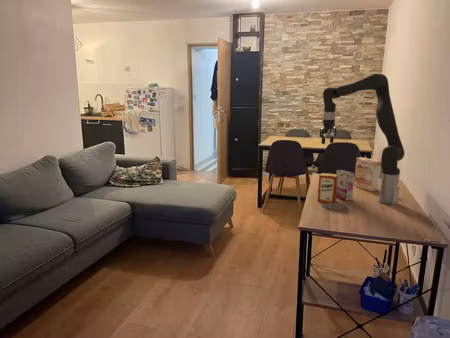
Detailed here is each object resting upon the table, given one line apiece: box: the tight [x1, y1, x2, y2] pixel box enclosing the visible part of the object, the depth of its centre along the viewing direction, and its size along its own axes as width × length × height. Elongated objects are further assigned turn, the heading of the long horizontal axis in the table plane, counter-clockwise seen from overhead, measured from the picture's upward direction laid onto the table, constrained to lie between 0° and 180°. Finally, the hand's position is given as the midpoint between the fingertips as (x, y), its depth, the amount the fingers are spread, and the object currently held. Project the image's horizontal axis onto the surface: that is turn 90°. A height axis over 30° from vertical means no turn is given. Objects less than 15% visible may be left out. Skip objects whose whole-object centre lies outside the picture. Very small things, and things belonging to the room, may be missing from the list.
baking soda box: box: [317, 172, 338, 204], centre depth 204 cm, size 10×6×16 cm
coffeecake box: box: [353, 157, 382, 192], centre depth 234 cm, size 15×7×20 cm, turn 25°
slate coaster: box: [321, 202, 348, 212], centre depth 195 cm, size 10×10×1 cm
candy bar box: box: [336, 169, 355, 202], centre depth 210 cm, size 11×5×16 cm, turn 17°
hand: (327, 143), depth 234 cm, fingers open, 8 cm apart
